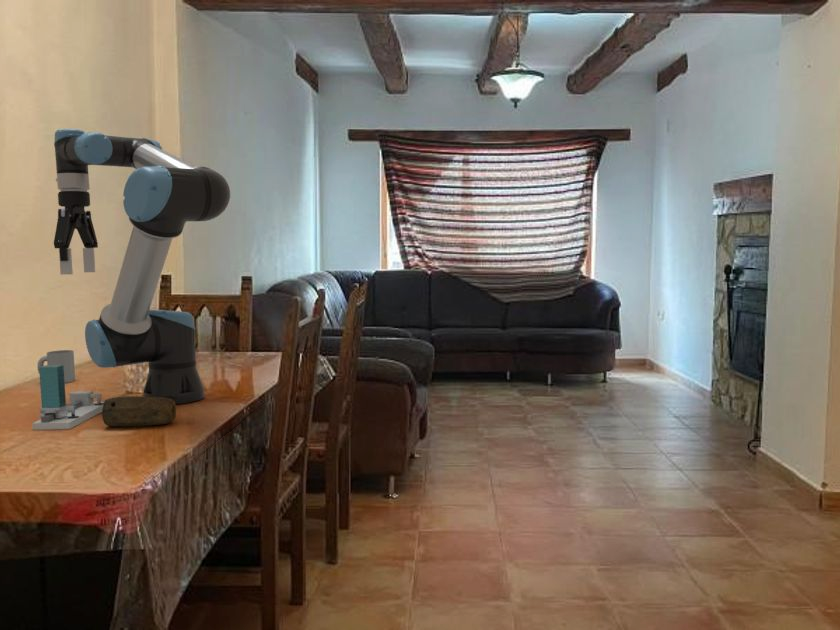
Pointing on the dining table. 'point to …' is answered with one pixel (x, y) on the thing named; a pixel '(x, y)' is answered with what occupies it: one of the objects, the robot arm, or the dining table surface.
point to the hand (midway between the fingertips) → (78, 273)
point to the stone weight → (138, 411)
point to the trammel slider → (53, 391)
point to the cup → (61, 362)
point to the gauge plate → (82, 413)
